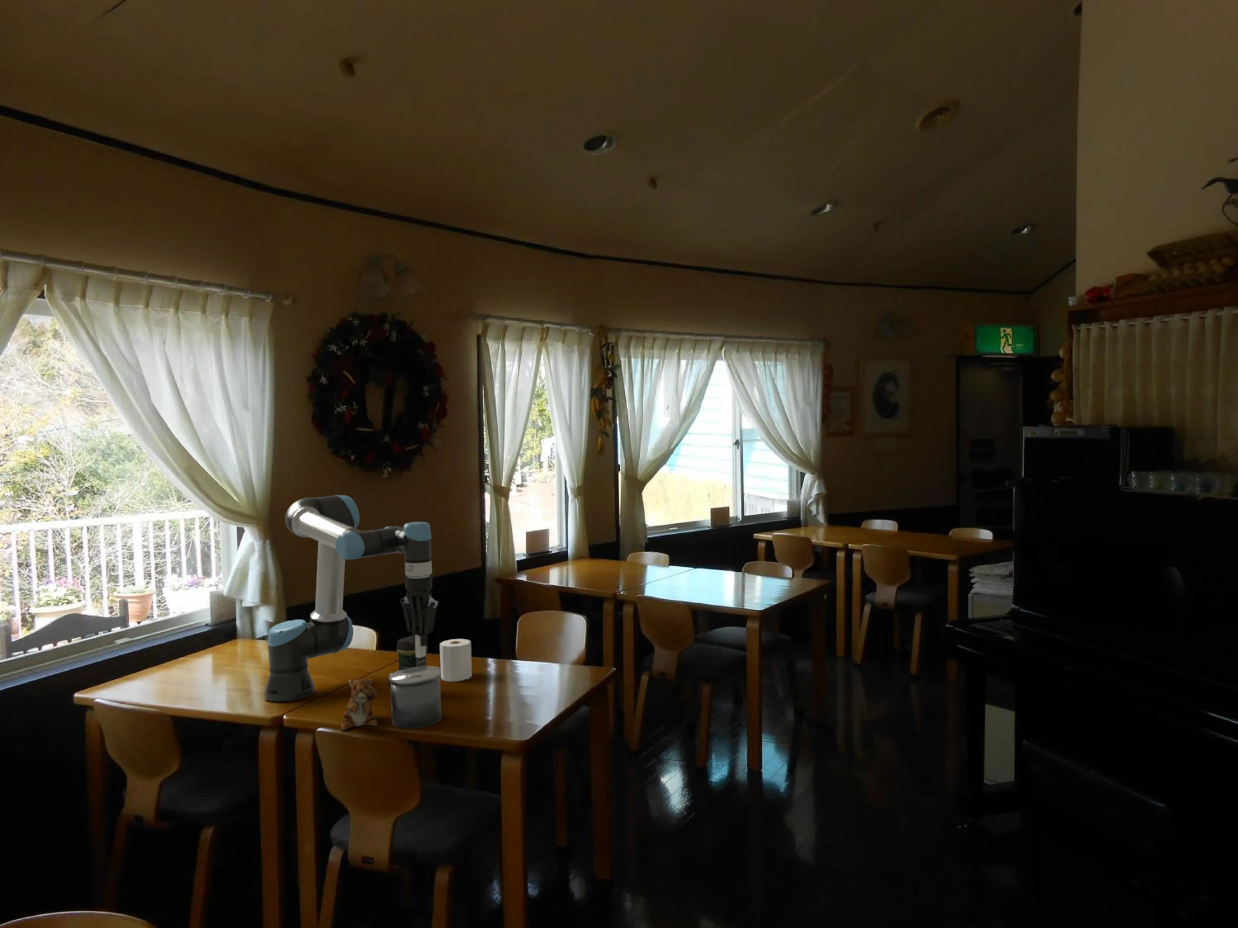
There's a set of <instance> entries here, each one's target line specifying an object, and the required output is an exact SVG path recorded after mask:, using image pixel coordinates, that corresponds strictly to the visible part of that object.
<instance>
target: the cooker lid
mask: <svg viewBox="0 0 1238 928" xmlns="http://www.w3.org/2000/svg"><path fill="white" fill-rule="evenodd" d="M439 676H440V677H441V667H438V666H434V665H426V666H420V667H412V668H407V669H403V670H399V669H398V670H396V671H394V672H391V673H389V674H388V678H389V682H390V683H391V684H396V685H408V684H416V683H422V682H426V681H430V680H433V679H435V678H437V677H439Z"/></svg>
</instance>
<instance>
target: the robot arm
mask: <svg viewBox="0 0 1238 928" xmlns="http://www.w3.org/2000/svg"><path fill="white" fill-rule="evenodd" d="M284 517H285V519H284V520H285V525H286V528H287V529H288V531H290V532H291V533H292V534H294V535H296V536H297V537H300V538H311V539H313V540H315V541H317V542H318V543H317V547H318V548H317V562H316V563H317V565H316V567H317V568H316V569H317V570H316V588H315V590H316V591H315V607H314V608H315V609H314V610H313V611H312V612H311V613H310V614H309V615H310V616H309V622H306V620H304V619H293V620H286V621H283V622H281V623H277V624H275V625H274V626H272V627H271V628H270V629H269V630H268V633H267V648H268V649H267V652H268V664H269V665H268V667H269V669H268V671H269V675H268V677H267V678H268V679H267V681H266V684H265V687H264V692H263V693H264V699H265V698H266V699H267V700H272V701H288V702H292V700H295V701H299V700H303V699H306V698H308V697H310V696H312V695H314V693H315V691H316V689H315V682H314V680H313V678H312V675H311V673H310V670H309V664H308V663H309V661H308V660H309V659H313V658H314V659H315V658H318V657H321V656H326V655H330V654H331V655H332V654H333V655H334V654H338V653H339V652H342V651H345V650H346V649H348V648H349V646H350V645H351V644H352V642H353V638H354V626H353V622H352V619H351V618H350V617H349V616H348V614H347V612H346V611H345V610H344V609H343V608H344V607H343V606H344V605H343V603H344V584H345V569H346V568H345V567H346V565H345V564H346V561H347V560H358V559H363V558H370V557H374V556H375V557H376V556H383V555H384V556H385V555H390V554H397V553H398V554H404V574H405V575H404V576H406V577H405V578H404V579H405V580H404V582H405V587H404V588H405V590H406V594H405V596H404V597H403V598H400V599H399V602H400V604H401V606H402V611H403V616H404V620H405V624H406V628H407V629H406V630H407V632H410V633H412V636H413V635H414V645H415V650H416V658H421V657H424V656H426V657H427V651H426V645H427V646H428V634H430V633H433V631H434V625H435V621H436V620H435V619H436V615H437V614H436V613H437V609H438V607H439V604H440V601H439V600H435V599H434V598H433V594H432V589H433V577H432V574H433V565H432V533H431V525H430V523H429V522H426V521H413V522H412V521H411V522H406V523H404V525H403V526H398V525H393V526H391V525H389V526H385V527H384V528H379V529H378V528H377V529H370V530H359V529H357V528H358V526H359V525H360V512H359V508H358V506H357V504H356V502H355V501H354V499H353V498H352V497H350V496H348V495H336V494H335V495H327V496H325V495H324V496H317V497H315V496H314V497H305V498H301V499H298V500H297V501H294V502H293V503H292V504H291V505H290V506H289V507H288V509H287V511H286V513H285V516H284ZM267 700H266V701H267Z"/></svg>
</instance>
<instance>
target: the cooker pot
mask: <svg viewBox="0 0 1238 928" xmlns="http://www.w3.org/2000/svg"><path fill="white" fill-rule="evenodd" d="M387 680H388V684H387V685H388V686H390V704H391V705H390V709H391V710H390V711H391V724H392V725H393V727H395V728H400V729H410V730H411V729H418V728H419V729H420V728H425V727H429V726H430V727H431V725H435V724H436V723H438V722H439V721H440V720H441V719H442V702H441V698H442V697H441V675H440V676H439V677H437V678H435V679H433V680H430V681H426V682H422V683H416V684H408V685H396V684H391V683H390V682H389V677H388V678H387Z"/></svg>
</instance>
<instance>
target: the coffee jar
mask: <svg viewBox="0 0 1238 928" xmlns="http://www.w3.org/2000/svg"><path fill="white" fill-rule="evenodd" d="M396 644H397V645H396V651H397V652H396V653H397V656H398V671H399V670H403V669H407V668H412V667H420V666H427V655H426V656H424V657H421V658H416V650H415V645H414V635H413V634H412V635H409V636H406V637H404V638H403V637H402V638H399V639H398V640H397V642H396ZM427 651H428V644H427V645H426V652H427Z"/></svg>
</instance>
